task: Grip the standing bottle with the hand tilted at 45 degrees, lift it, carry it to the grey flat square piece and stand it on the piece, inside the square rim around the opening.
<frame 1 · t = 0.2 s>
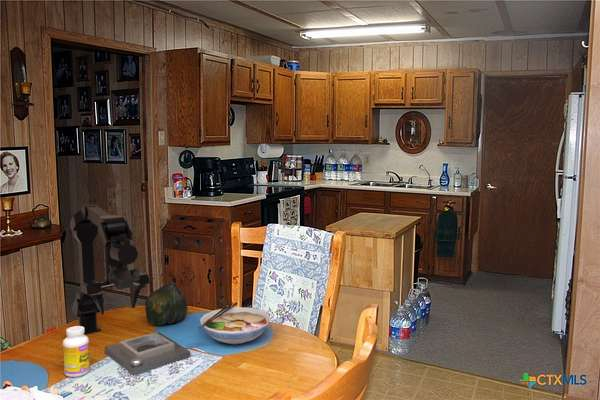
hand: (118, 311, 158), 14 cm above the table, tool pointing down, fingers open, 9 cm apart
grey flat square piece: (147, 355, 161), on the table
squash: (166, 322, 189), on the table
supplement bottle: (77, 373, 149), on the table
ramen bowl: (236, 340, 173), on the table
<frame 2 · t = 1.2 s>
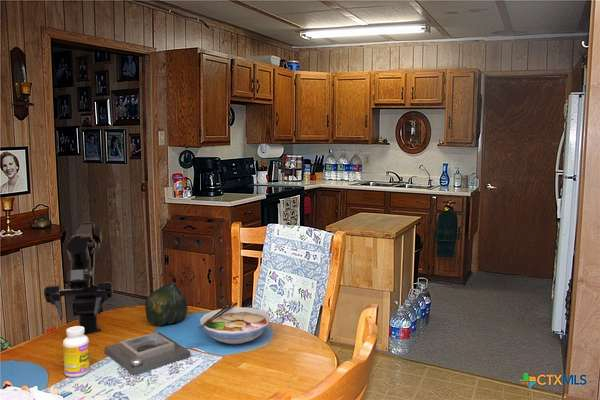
hand: (78, 317, 155), 13 cm above the table, tool tilted 45°, fingers open, 9 cm apart
nothing on the table moved.
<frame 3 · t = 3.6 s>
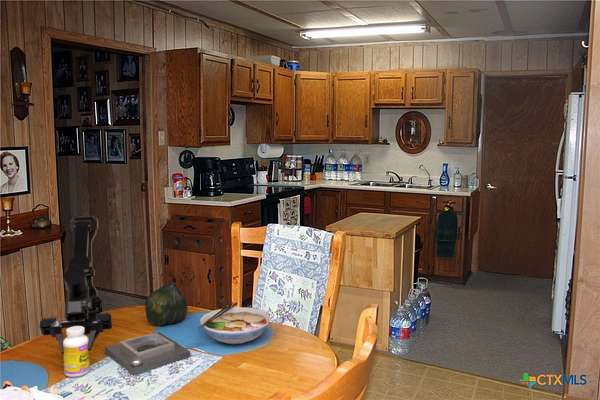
hand: (75, 352, 147), 7 cm above the table, tool tilted 45°, fingers closed on supplement bottle, 7 cm apart
supplement bottle: (77, 373, 149), on the table, touching gripper
everything else where it was.
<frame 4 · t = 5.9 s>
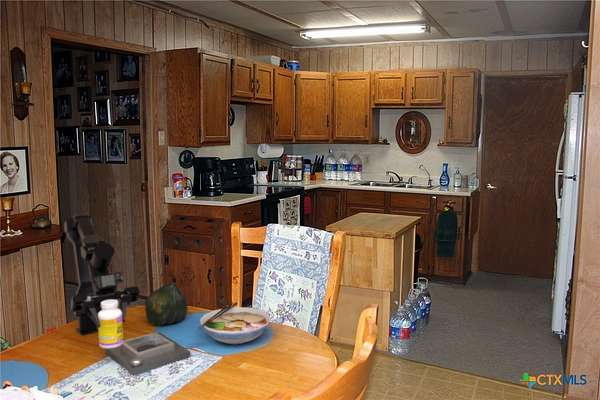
hand: (111, 324, 151), 13 cm above the table, tool tilted 45°, fingers closed on supplement bottle, 7 cm apart
supplement bottle: (111, 345, 153), point 6 cm above the table, touching gripper
everything else where it was.
when the fingers open (10 cm above the table, at t = 7.9 s): supplement bottle stays where it is, resting on grey flat square piece.
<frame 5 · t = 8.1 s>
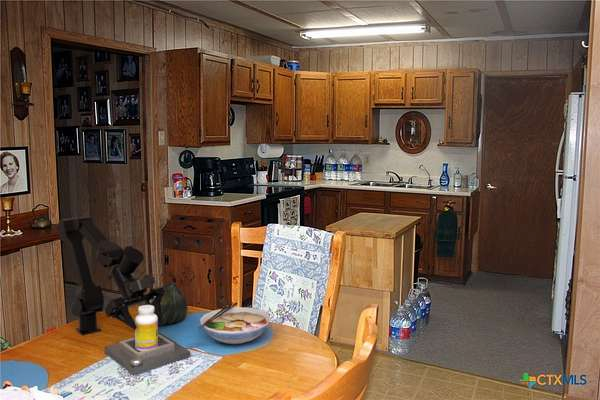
hand: (148, 324, 159), 10 cm above the table, tool tilted 45°, fingers open, 9 cm apart
supplement bottle: (146, 348, 161), point 2 cm above the table, touching grey flat square piece
everything else where it was.
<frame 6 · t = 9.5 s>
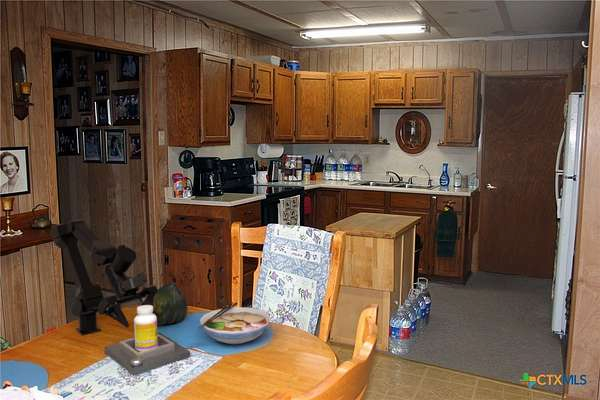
hand: (141, 322, 161), 10 cm above the table, tool tilted 45°, fingers open, 9 cm apart
nothing on the table moved.
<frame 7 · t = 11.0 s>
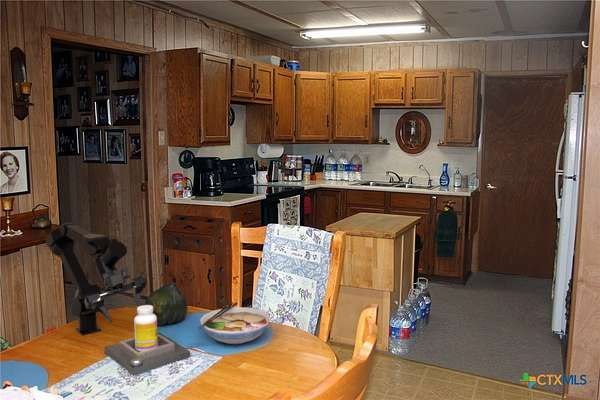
hand: (125, 316, 165), 10 cm above the table, tool tilted 35°, fingers open, 9 cm apart
nothing on the table moved.
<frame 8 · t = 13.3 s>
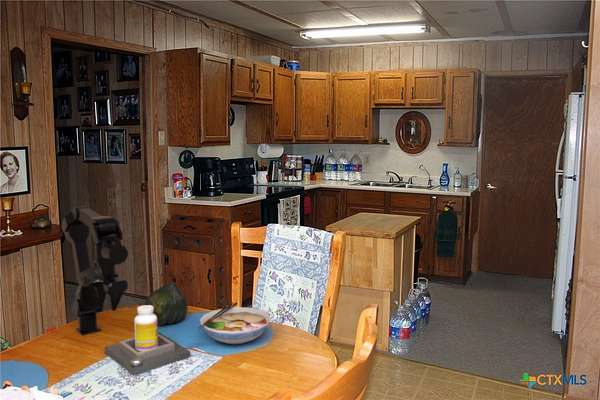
hand: (107, 306, 166), 13 cm above the table, tool pointing down, fingers open, 9 cm apart
nothing on the table moved.
at the end: supplement bottle 0.2 cm off-centre on the grey flat square piece, point 1.9 cm above the grey flat square piece's base; supplement bottle tilted 0°; the gripper is holding nothing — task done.
